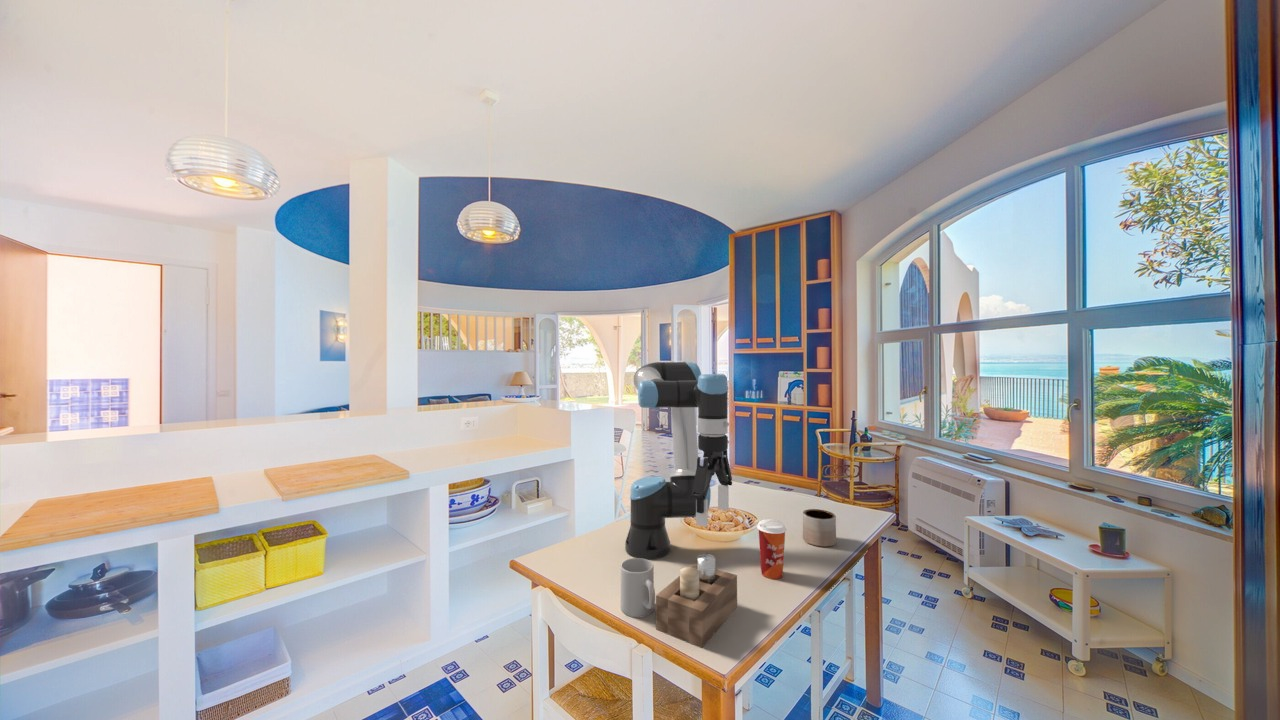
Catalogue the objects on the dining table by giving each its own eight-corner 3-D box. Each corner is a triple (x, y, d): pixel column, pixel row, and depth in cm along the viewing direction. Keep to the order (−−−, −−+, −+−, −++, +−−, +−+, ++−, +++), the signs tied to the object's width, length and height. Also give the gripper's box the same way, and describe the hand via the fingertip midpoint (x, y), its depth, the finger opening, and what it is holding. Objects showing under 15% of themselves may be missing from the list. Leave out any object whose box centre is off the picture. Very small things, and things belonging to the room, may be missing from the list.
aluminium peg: (694, 590, 112) (694, 558, 112) (702, 583, 116) (702, 552, 116) (710, 595, 110) (710, 563, 110) (718, 587, 113) (718, 556, 113)
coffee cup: (771, 583, 125) (771, 530, 125) (751, 571, 133) (751, 521, 133) (793, 577, 129) (792, 525, 129) (772, 565, 136) (772, 516, 136)
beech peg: (676, 606, 105) (676, 572, 105) (685, 598, 108) (685, 565, 108) (693, 612, 102) (693, 578, 102) (702, 603, 106) (702, 570, 106)
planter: (807, 533, 162) (807, 506, 162) (839, 539, 156) (839, 512, 156) (798, 542, 153) (798, 515, 153) (832, 550, 147) (832, 521, 147)
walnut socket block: (656, 629, 104) (655, 595, 104) (695, 592, 121) (695, 563, 121) (702, 647, 97) (702, 611, 97) (737, 606, 114) (737, 575, 114)
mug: (614, 604, 115) (614, 562, 115) (642, 595, 119) (642, 555, 119) (638, 629, 104) (638, 582, 104) (668, 618, 109) (668, 573, 109)
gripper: (706, 443, 101) (706, 536, 101) (743, 429, 122) (744, 506, 122) (676, 440, 105) (677, 529, 105) (718, 427, 126) (718, 501, 126)
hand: (713, 517), depth 114 cm, fingers open, 13 cm apart
